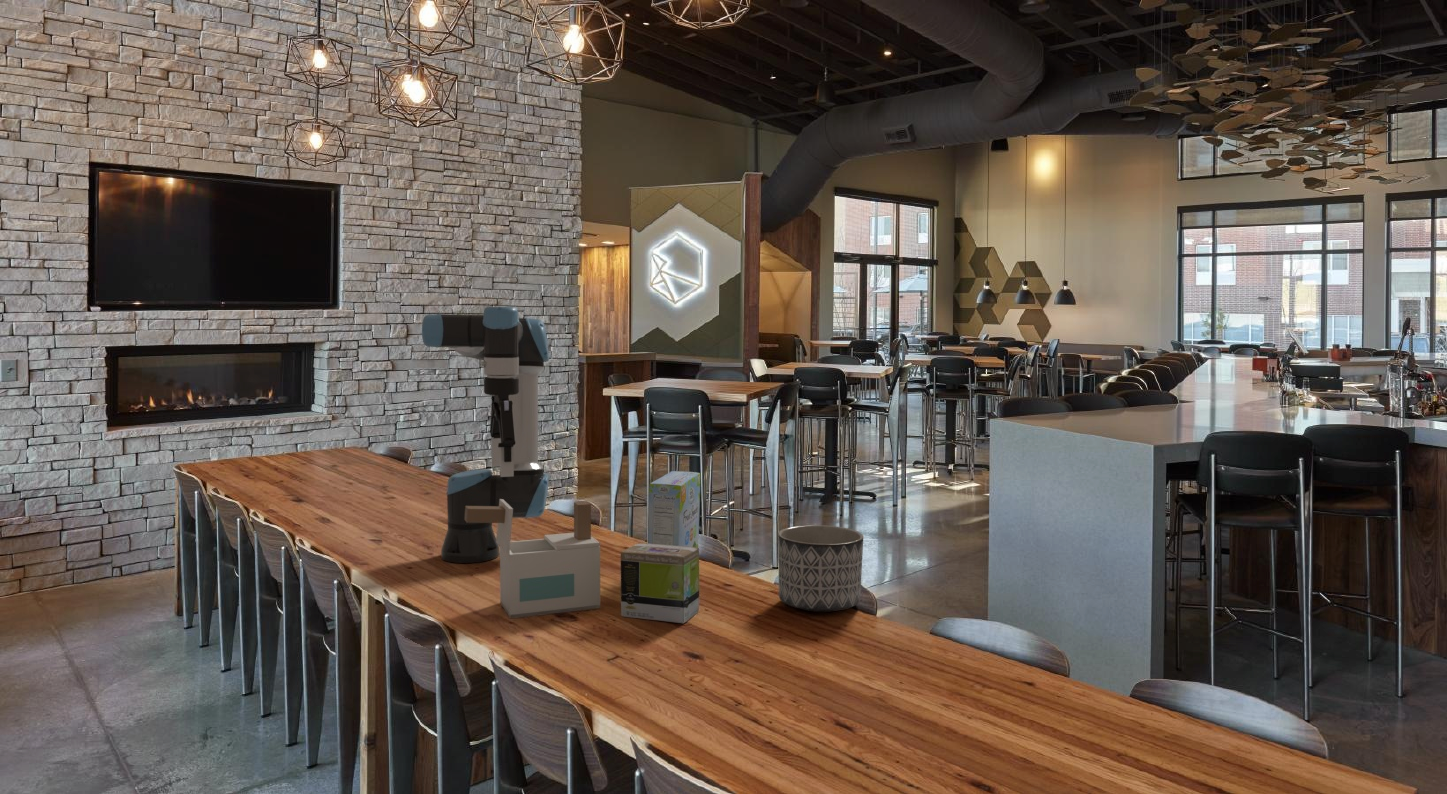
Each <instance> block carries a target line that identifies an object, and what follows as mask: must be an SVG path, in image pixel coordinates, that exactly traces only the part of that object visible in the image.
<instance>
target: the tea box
mask: <svg viewBox="0 0 1447 794" xmlns="http://www.w3.org/2000/svg"><path fill="white" fill-rule="evenodd" d="M699 612H700V547H699V546H698V547H686V546H673V545H661V544H648V542H647V543H646V542H645V543H644V542H638V543H636V544H634V545H632V546H630V547H627V548H626V549H623V550H622V551H621V552H620V613H621V615H620V616H621V617H624V618H630V619H631V618H632V619H640V620H641V619H642V620H651V621H659V622H668V623H677V624H685V623H686V622H688V621H689V620H690V619H691V618H693V617H694V616H695V615H697V613H699Z"/></svg>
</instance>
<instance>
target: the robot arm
mask: <svg viewBox="0 0 1447 794" xmlns="http://www.w3.org/2000/svg"><path fill="white" fill-rule="evenodd" d="M421 322H422V323H421V335H422V336H421V337H422V341H423V344H424V346H426V347H429V348H436V349H437V348H438V349H439V348H449V349H453V350H454V351H455V352H456V353H458V354H459V355H461V356H464V357H467V358H471V359H475V360H479V361H481V362H480V365H481V367H482V366H483V375H485V376H486V377H484V378H483V392H484V394H485V395H488V396H491V397H490V399H491V404H490V405H491V409H490V411H491V412H490V425H489V434H490V437H491V439H490V440H491V442H490V443H491V452H490V453H491V467H492V468H493V467H497V468H498V467H499V474H493V472H492V470H491V469H489V468H480V469H478V468H477V469H471V470H466V471H461V472H457V473H454V474H452V475H451V476H449V478H448V479H447V488H446V501H447V503H446V505H447V530H446V535H445V537H444V540H443V543H442V547H441V550H440V551H441V552H440V554H441V556H440V557H441V560H443V561H445V562H448V563H454V564H455V563H456V564H474V563H481V562H486V561H491V560H495V559H496V558H498V557H500V546H499V545H498V544H497V543H496V537H497V536H496V535H495V532H494V529H493V523H467V522H466V521H465V520H464V518H465V506H499V500H500V499H503V500H504V501H505V502H506V503H508V504H509V505H510V506H511V507H512V508H513V516H512V519H514V518H515V519H518V518H519V519H521V518H523V519H528V518H538V517H541V516H542V515H543V514H544V513H545V509H546V504H547V498H548V497H547V496H548V491H549V480H550V476H549V474H547V473H544V466H542V464H541V463H540V462H539V374H540V373H541V371H543V370H544V368H545V367H544V365H545V364H544V363H547V362H549V360H550V355H549V353H550V352H549V344H548V338H547V337H548V336H547V329H546V326H545V323H544V321H542V320H541V319H539V318H528V317H525V318H524V317H521V318H520V317H519V310H518V309H517V307H515V306H486V307H484V309H483V314H450V313H449V314H447V313H446V314H443V313H442V314H441V313H436V314H434V313H433V314H426V315H424V317H423V319H422V321H421Z"/></svg>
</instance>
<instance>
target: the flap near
mask: <svg viewBox="0 0 1447 794" xmlns="http://www.w3.org/2000/svg"><path fill="white" fill-rule="evenodd" d="M512 516H513V508H512V507H511V506H510V505H509V504H508V503H506V502H505V501H504V500H503V499H500V500H499V506H465V518H464V520H465V521H466V522H467V523H492V524H497V525H496V526H497V527H496V528H497V529H496V536H495V537H496V543H497V544H498V546H499V549H500V548H501V549H502V550H503V551H504V553H505V554H509V553H510V542H511V541H512V540H511V537H512V528H513V526H512V525H513V518H512Z"/></svg>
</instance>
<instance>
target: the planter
mask: <svg viewBox="0 0 1447 794" xmlns="http://www.w3.org/2000/svg"><path fill="white" fill-rule="evenodd" d="M777 537H778V538H777V540H778V541H777V543H778V544H777V545H778V546H777V547H778V552H777V553H778V557H777V558H778V597H779V600H780V601H781V602H783V603H784V604H786V606H790V607H792V608H795V609H796V608H797V609H800V610H804V611H807V612H813V613H831V612H832V613H833V612H837V611H842V610H847V609H851V608H852V607H855V606H857V605H858V604H859V602H860V601H861V593H862V591H861V590H862V571H863V569H862V568H863V552H864V551H863V549H864V535H863V533H861V532H859V531H857V530H855V529H852V528H846V527H843V526H834V525H824V524H823V525H820V524H814V525H813V524H812V525H808V524H807V525H796V526H795V525H794V526H789V527H786V528H783V529H780V530H779V531H778V533H777Z"/></svg>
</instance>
